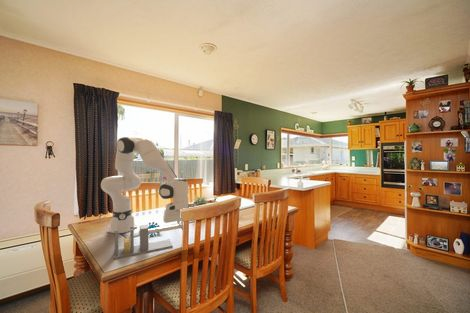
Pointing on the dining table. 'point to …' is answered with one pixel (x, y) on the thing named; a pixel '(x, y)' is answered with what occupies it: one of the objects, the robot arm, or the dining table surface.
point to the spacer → (126, 245)
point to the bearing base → (143, 246)
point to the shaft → (163, 229)
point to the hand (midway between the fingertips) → (181, 227)
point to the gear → (152, 227)
